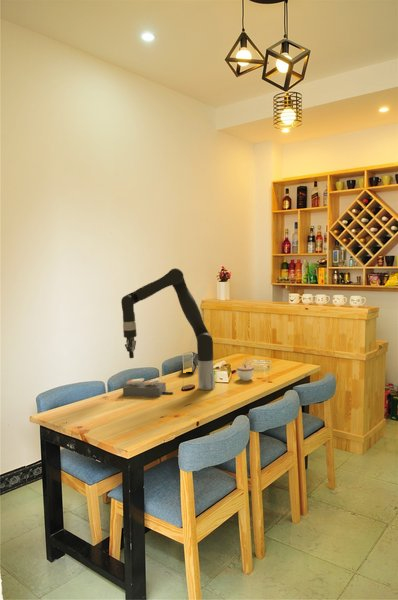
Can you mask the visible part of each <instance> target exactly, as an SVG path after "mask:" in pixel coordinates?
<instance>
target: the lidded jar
mask: <svg viewBox="0 0 398 600" xmlns="http://www.w3.org/2000/svg"><path fill="white" fill-rule="evenodd" d="M254 368H255V367H254V366H251V365H246V364H244V365H239V366H237V367H236V373H237V377H238V378H239V379H240V380H241V381H243V382H246V381H250V380H251V379H253V377H254V371H255V370H254Z"/></svg>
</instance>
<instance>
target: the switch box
mask: <svg viewBox="0 0 398 600" xmlns="http://www.w3.org/2000/svg"><path fill="white" fill-rule="evenodd" d="M145 382H146V381H142V382H141V383H136V384H135V385H133V384H125V385H124V386H123V387H122V392H123V394H122V395H123V397H149V398H151V397H152V398H153V397H154V398H160V397H161V396H163V395H174V392H173V391H167V389H166V387H167V385H166V382H157V383H155V384H154V385H151V384H149V385H144V383H145Z"/></svg>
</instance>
